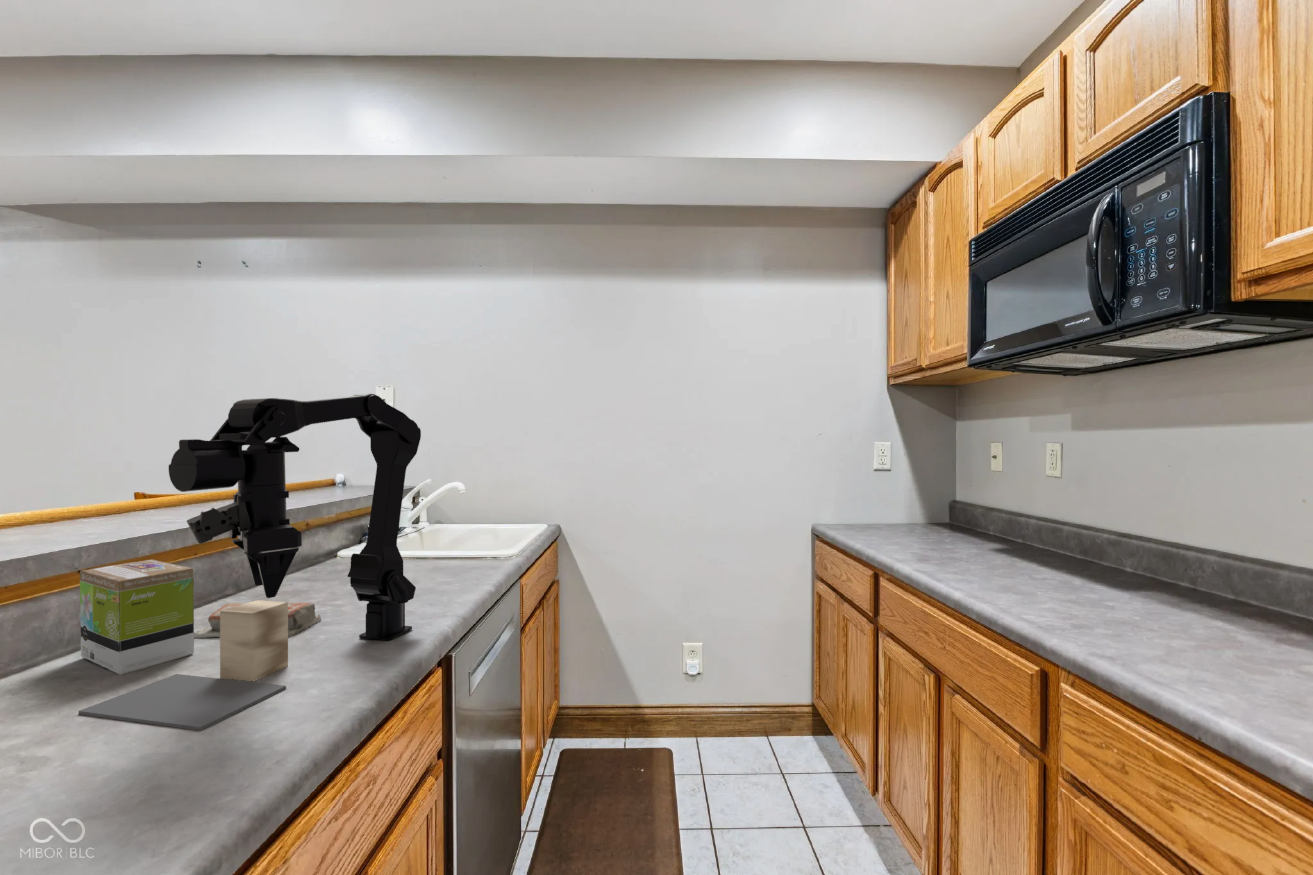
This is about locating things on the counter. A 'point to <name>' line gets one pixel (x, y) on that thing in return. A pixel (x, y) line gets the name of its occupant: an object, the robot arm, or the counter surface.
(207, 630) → the packaged product
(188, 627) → the tea box
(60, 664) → the counter surface
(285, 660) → the birch block
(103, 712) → the rubber mat
